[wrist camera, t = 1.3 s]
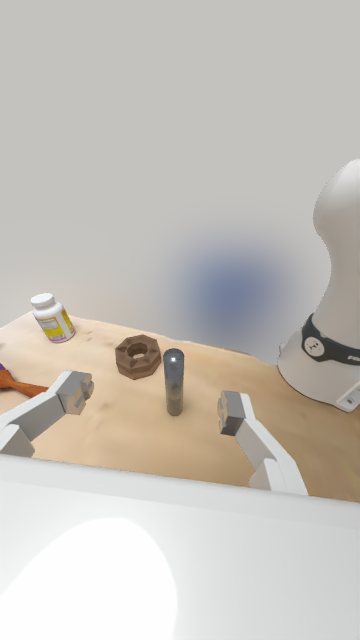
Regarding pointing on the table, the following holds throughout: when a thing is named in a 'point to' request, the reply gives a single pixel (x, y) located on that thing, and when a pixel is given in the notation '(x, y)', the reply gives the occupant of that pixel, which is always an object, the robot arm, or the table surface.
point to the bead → (139, 365)
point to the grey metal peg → (174, 380)
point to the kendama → (19, 384)
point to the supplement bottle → (52, 318)
